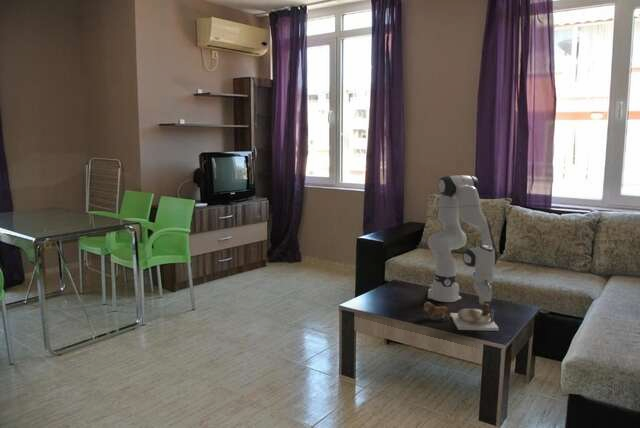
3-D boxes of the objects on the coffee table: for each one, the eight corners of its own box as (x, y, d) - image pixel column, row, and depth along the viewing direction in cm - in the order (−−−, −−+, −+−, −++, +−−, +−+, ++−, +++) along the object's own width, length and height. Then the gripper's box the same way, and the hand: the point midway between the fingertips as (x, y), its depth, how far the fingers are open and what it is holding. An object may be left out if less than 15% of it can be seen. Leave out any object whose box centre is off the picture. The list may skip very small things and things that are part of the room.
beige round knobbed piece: (489, 311, 261) (490, 299, 260) (497, 322, 246) (498, 309, 245) (455, 310, 262) (456, 298, 261) (461, 321, 247) (462, 308, 246)
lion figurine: (424, 321, 256) (425, 303, 255) (421, 317, 262) (422, 300, 260) (453, 320, 258) (454, 303, 256) (450, 316, 263) (450, 300, 261)
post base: (450, 315, 264) (450, 301, 263) (487, 316, 263) (488, 302, 262) (458, 329, 246) (459, 314, 244) (498, 330, 245) (499, 315, 244)
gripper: (496, 284, 246) (493, 311, 248) (484, 271, 266) (482, 297, 268) (482, 283, 246) (480, 311, 248) (472, 271, 266) (470, 296, 268)
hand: (481, 303), depth 258 cm, fingers closed
